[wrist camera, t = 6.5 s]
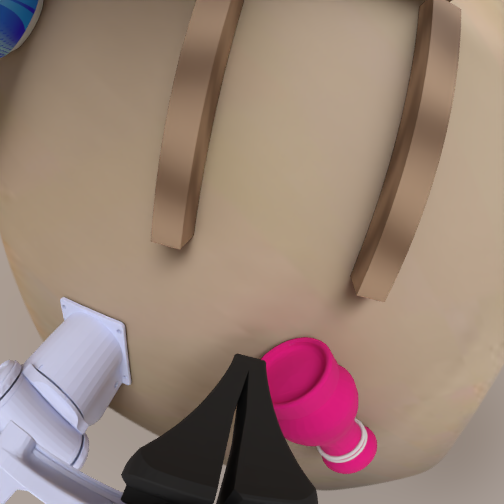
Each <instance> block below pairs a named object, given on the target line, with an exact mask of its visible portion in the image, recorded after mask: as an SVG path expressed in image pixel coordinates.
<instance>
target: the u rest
mask: <svg viewBox="0 0 504 504" xmlns="http://www.w3.org/2000/svg"><path fill="white" fill-rule="evenodd" d="M450 1H452V0H426V1H425V2H424V3H423V4H422V5H420V6H419V17H418V27H417V35H416V43H415V50H414V57H413V63H412V69H411V75H410V80H409V86H408V91H407V96H406V100H405V105H404V110H403V114H402V118H401V122H400V127H399V131H398V135H397V139H396V142H395V146H394V150H393V154H392V157H391V161H390V164H389V168H388V171H387V174H386V178H385V181H384V184H383V188H382V191H381V194H380V197H379V200H378V203H377V206H376V209H375V212H374V215H373V218H372V221H371V224H370V226H369V229H368V232H367V235H366V237H365V240H364V243H363V245H362V248H361V251H360V253H359V256H358V258H357V261H356V264H355V266H354V269H353V271H352V273H351V279H352V282H353V285H354V288H355V291H356V295H357V296H361V297H365V298H369V299H374V300H378V301H382V302H385V300H386V298H387V296H388V294H389V292H390V290H391V288H392V286H393V284H394V281H395V279H396V277H397V275H398V273H399V271H400V268H401V266H402V264H403V262H404V259H405V257H406V255H407V252H408V250H409V247H410V245H411V242H412V240H413V237H414V235H415V232H416V230H417V227H418V224H419V222H420V219H421V216H422V214H423V211H424V208H425V205H426V202H427V199H428V196H429V193H430V190H431V187H432V184H433V181H434V177H435V174H436V170H437V167H438V163H439V160H440V156H441V152H442V148H443V144H444V140H445V136H446V132H447V127H448V123H449V118H450V113H451V108H452V102H453V97H454V90H455V84H456V77H457V69H458V59H459V48H460V33H461V9H460V8H458V7H457V6H455V5H453V4H452V3H450ZM243 2H244V0H196V3H195V6H194V9H193V12H192V15H191V18H190V22H189V25H188V28H187V32H186V35H185V39H184V42H183V46H182V50H181V54H180V57H179V61H178V65H177V70H176V74H175V78H174V83H173V87H172V92H171V96H170V101H169V106H168V111H167V117H166V122H165V128H164V134H163V140H162V146H161V152H160V159H159V166H158V174H157V182H156V190H155V200H154V210H153V221H152V233H151V242H154V243H158V244H161V245H165V246H169V247H172V248H176V249H181V248H182V247H183V246H184V245H185V244H186V243H187V242H188V241H189V240H190V238H191V237H192V236H193V235H194V228H195V222H196V215H197V209H198V202H199V196H200V190H201V184H202V178H203V173H204V167H205V162H206V156H207V151H208V146H209V141H210V136H211V131H212V126H213V121H214V116H215V112H216V107H217V102H218V98H219V94H220V89H221V85H222V81H223V76H224V72H225V68H226V64H227V60H228V56H229V52H230V49H231V45H232V41H233V37H234V34H235V30H236V26H237V23H238V19H239V16H240V12H241V9H242V6H243Z"/></svg>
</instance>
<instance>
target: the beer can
mask: <svg viewBox="0 0 504 504" xmlns="http://www.w3.org/2000/svg"><path fill="white" fill-rule="evenodd" d="M42 7H43V0H0V58H1V57H4V56H6V55H7V54H9V53H10V52H11V51H14V50H16V49H17V48H18V47H20V46H21V45H22V44H23V42H24V41H25V40H26V39H27V38H28V36H29V35H30V33H31V32H32V30H33V28H34V27H35V25H36V23H37V21H38V18H39V16H40V13H41V10H42Z"/></svg>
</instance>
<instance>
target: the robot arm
mask: <svg viewBox="0 0 504 504" xmlns="http://www.w3.org/2000/svg"><path fill="white" fill-rule="evenodd" d="M60 302H61V307H62V312H63V317H64V322H63V323H62V324H61V325H60V326H59V327H58V328H57V329H56V330H55V331H54V332H53V333H52V334H51V335H50V336H49V337H48V338H47V339H46V340H45V341H44V342H43V343H42V344H41V345H40V346H39V347H38V349H37V350H36V351H35V352H34V353H33V354H32V355H31V356H30V357H29V358H28V359H27V360H26V362H25V363H24V364H22V365H20V364H19V362H18V361H16V360H15V361H12V360H7V361H5V362H3V363H2V364H1V365H0V504H5V503H6V502H7V501H8V499H9V498H10V497H11V496H12V495H13V493H14V492H15V491H16V490H25V491H29V492H31V493H32V494H33V495H34V496H36V497H37V498H38V499H40V500H41V501H42V502H44V503H45V504H213V503H214V500H215V496H216V493H217V489H218V484H219V479H220V474H221V469H222V465H223V460H224V455H225V451H226V446H227V442H228V437H229V433H230V428H231V424H232V419H233V415H234V411H235V409H236V406H237V410H236V417H235V425H234V432H233V439H232V445H231V451H230V455H229V458H228V462H227V466H226V470H225V474H224V478H223V482H222V485H221V488H220V492H219V496H218V499H217V503H216V504H318V498H317V493H316V488H315V487H314V486H313V484H312V483H311V482H310V481H309V479H308V478H307V476H306V475H305V473H304V472H303V470H302V469H301V467H300V466H299V464H298V463H297V461H296V459H295V457H294V455H293V454H292V452H291V450H290V448H289V446H288V444H287V442H286V440H285V437H284V435H283V433H282V430H281V428H280V425H279V422H278V420H277V417H276V413H275V410H274V407H273V403H272V399H271V395H270V390H269V385H268V379H267V370H266V362H265V360H261V359H257V358H253V357H249V356H245V355H241V354H236V355H235V356H234V358H233V361H232V363H231V365H230V366H229V368H228V370H227V371H226V373H225V375H224V376H223V377H222V379H221V380H220V381H219V383H218V384H217V386H216V387H215V388H214V389H213V390H212V392H211V393H210V394H209V395H208V396H207V397H206V398H205V400H204V401H203V402H202V403H201V404H200V405H199V406H198V407H197V408H196V409H195V410H194V411H193V412H191V413H190V414H189V415H188V416H187V417H186V418H185V419H183V420H182V421H181V422H180V423H178V424H177V425H176V426H175V427H173V428H172V429H170V430H169V431H167V432H166V433H165V434H163V435H162V436H160V437H158V438H157V439H155V440H153V441H152V442H150V443H148V444H147V445H145V446H143V447H141V448H140V449H139V450H138V451H137V452H136V453H135V454H134V455H133V456H132V457H131V458H130V459H129V461H128V462H127V464H126V466H125V468H124V470H123V472H122V474H121V475H122V478H123V480H124V481H125V483H126V488H125V490H124V492H120V491H118V490H116V489H114V488H112V487H109V486H107V485H105V484H103V483H101V482H99V481H97V480H96V479H94V478H92V477H90V476H88V475H86V474H84V473H83V472H81V471H79V470H80V469H81V468H82V466H83V465H84V463H85V461H86V459H87V456H88V452H89V440H88V437H87V435H86V434H85V431H86V429H87V428H88V426H90V425H93V424H94V423H96V422H97V421H98V420H99V419H100V418H101V417H102V415H103V413H104V412H105V410H106V408H107V407H108V405H109V404H110V402H111V400H112V399H113V397H114V395H115V394H116V392H117V390H118V389H119V387H120V385H121V384H122V383H124V384H126V385H130V384H131V375H130V368H129V360H128V351H127V342H126V331H125V325H124V324H123V323H122V322H120V321H118V320H115V319H113V318H110V317H108V316H106V315H103V314H101V313H98V312H96V311H94V310H91V309H89V308H87V307H85V306H82V305H80V304H78V303H76V302H74V301H71V300H69V299H67V298H65V297H62V298H61V299H60Z"/></svg>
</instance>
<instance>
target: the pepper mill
mask: <svg viewBox="0 0 504 504" xmlns="http://www.w3.org/2000/svg"><path fill="white" fill-rule="evenodd" d="M261 360H265V362H266V370H267V379H268V385H269V390H270V395H271V399H272V403H273V407H274V410H275V413H276V417H277V420H278V422H279V425H280V428H281V430H282V433H283V435H284V437H285V438H286V439H287V440H289V441H291V442H293V443H297V444H301V445H305V446H317V449H318V451H319V453H320V454H321V455H322V458H323V461H324V463H325V464H326V465H327V467H328V468H330V469H331V470H333V471H335V472H338V473H342V474H350V473H355V472H358V471H360V470H362V469H363V468H365V467H366V466H367V465H368V464H369V463H370V462H371V461H372V460H373V458H374V456H375V454H376V451H377V440H376V437H375V435H374V434H373V432H372V431H371V430H370V429H369V428H368V427H366V426H364V425H363V424H362V423H361V422H360V421H359V420H358V419H356V418H355V416H356V414H357V410H358V392H357V388H356V385H355V382H354V380H353V378H352V376H351V375H350V373H349V372H348V371H347V370H346V369H345V368H344V367H342V366H340V365H338V364H337V362H336V360H335V358H334V356H333V355H332V353H331V351H330V349H329V347H328V346H327V345H326V344H325V343H323V342H322V341H320V340H317V339H314V338H308V337H303V338H295V339H292V340H289V341H286V342H284V343H282V344H280V345H278V346H276V347H274V348H273V349H271V350H270V351H269V352H268V353H266V354H265V355H264V356H263V357H262V358H261Z"/></svg>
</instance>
